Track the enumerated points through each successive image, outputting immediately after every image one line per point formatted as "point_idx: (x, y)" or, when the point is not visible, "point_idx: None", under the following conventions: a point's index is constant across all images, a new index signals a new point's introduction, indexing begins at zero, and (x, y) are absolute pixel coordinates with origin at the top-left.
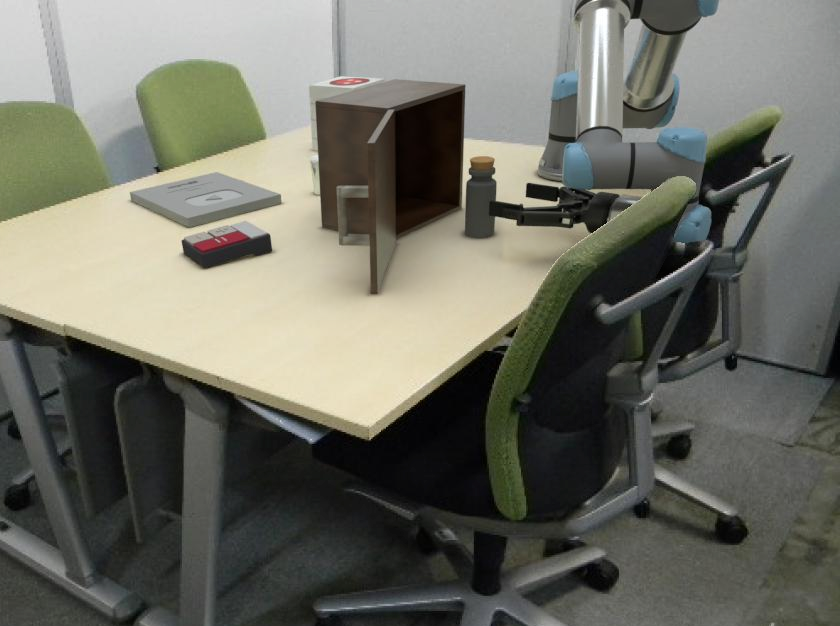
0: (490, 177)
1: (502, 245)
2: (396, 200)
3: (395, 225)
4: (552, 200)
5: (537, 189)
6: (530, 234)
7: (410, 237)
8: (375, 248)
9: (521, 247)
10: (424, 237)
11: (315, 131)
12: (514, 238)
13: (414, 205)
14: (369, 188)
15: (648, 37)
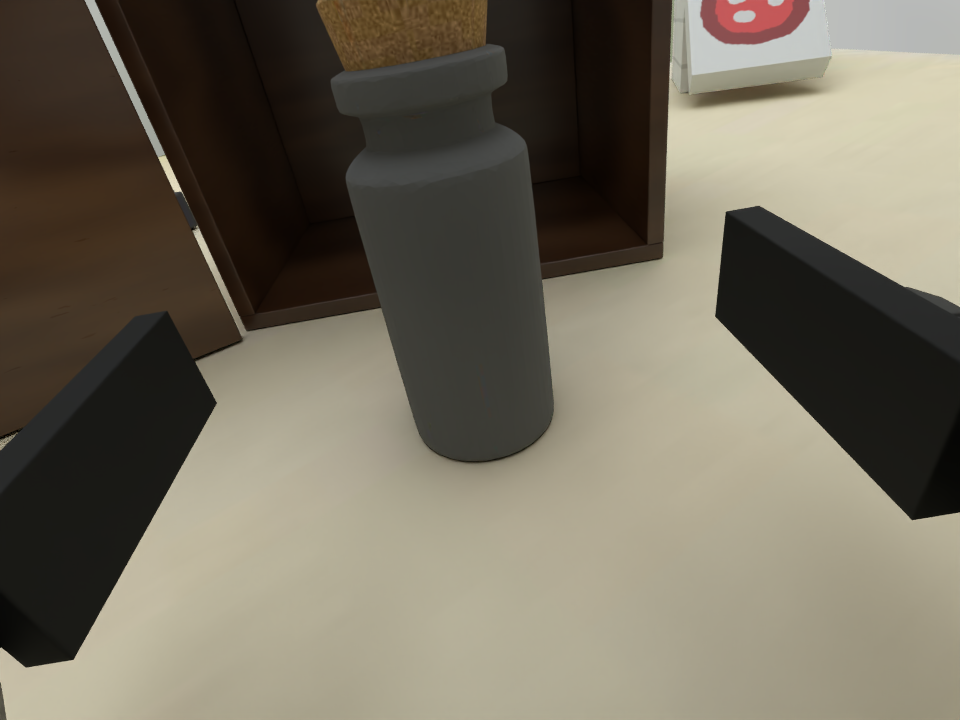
0: (426, 127)
1: (400, 579)
2: (546, 190)
3: (207, 283)
4: (882, 475)
5: (782, 291)
6: (687, 571)
7: (324, 328)
8: None
9: (428, 699)
10: (343, 344)
11: (674, 42)
12: (550, 550)
13: (545, 214)
14: None
15: None
